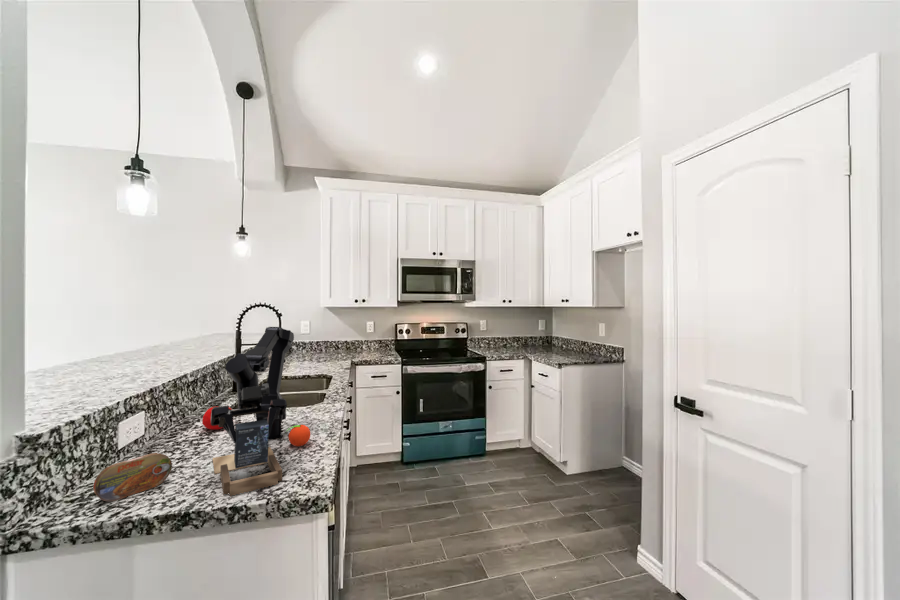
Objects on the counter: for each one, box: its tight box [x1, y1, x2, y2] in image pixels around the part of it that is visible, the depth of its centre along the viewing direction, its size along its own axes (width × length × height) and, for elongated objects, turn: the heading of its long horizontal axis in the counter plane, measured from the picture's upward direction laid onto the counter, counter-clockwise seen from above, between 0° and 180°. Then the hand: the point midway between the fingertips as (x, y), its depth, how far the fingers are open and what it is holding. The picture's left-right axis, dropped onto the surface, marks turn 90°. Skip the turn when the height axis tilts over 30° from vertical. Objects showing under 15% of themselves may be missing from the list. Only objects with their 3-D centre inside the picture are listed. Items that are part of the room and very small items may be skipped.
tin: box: [92, 452, 173, 502], centre depth 91 cm, size 15×3×8 cm, turn 148°
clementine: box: [285, 424, 312, 447], centre depth 122 cm, size 8×7×7 cm
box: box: [233, 419, 269, 468], centre depth 100 cm, size 8×6×11 cm
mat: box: [212, 446, 275, 475], centre depth 110 cm, size 16×12×1 cm
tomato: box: [202, 405, 233, 431], centre depth 137 cm, size 9×10×8 cm
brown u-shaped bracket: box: [219, 454, 283, 497], centre depth 98 cm, size 14×14×3 cm
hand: (252, 439), depth 99 cm, fingers closed on box, 8 cm apart
